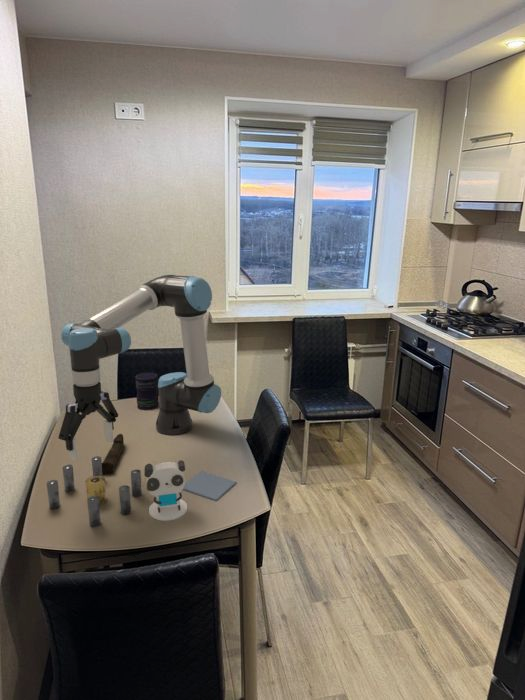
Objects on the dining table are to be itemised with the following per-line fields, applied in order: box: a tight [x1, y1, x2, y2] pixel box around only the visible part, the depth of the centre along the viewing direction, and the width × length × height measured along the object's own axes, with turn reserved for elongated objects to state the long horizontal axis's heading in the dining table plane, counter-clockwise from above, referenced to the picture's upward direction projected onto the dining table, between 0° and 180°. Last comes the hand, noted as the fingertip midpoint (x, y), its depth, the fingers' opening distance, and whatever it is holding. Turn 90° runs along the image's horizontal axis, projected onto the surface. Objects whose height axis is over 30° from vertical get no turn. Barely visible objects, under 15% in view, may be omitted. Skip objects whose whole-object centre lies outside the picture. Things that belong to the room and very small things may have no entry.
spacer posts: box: [46, 455, 143, 528], centre depth 145 cm, size 20×27×8 cm
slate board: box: [182, 470, 237, 502], centre depth 155 cm, size 12×14×1 cm
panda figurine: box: [143, 459, 188, 522], centre depth 141 cm, size 12×11×15 cm
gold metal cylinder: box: [85, 475, 107, 506], centre depth 145 cm, size 6×6×7 cm
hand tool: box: [102, 433, 125, 475], centre depth 171 cm, size 23×5×6 cm, turn 0°
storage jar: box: [135, 372, 159, 411], centre depth 218 cm, size 10×10×15 cm
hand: (92, 450), depth 142 cm, fingers open, 13 cm apart
